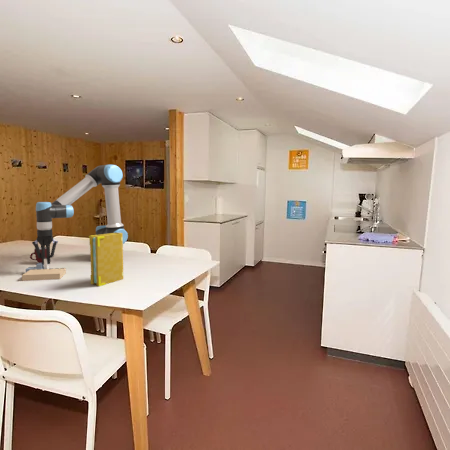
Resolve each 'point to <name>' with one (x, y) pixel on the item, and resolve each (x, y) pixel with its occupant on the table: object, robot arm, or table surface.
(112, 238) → the book
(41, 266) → the stub
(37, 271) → the board
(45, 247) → the mug
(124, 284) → the table surface
